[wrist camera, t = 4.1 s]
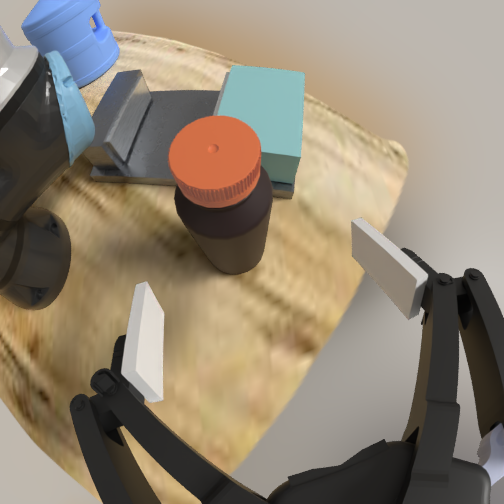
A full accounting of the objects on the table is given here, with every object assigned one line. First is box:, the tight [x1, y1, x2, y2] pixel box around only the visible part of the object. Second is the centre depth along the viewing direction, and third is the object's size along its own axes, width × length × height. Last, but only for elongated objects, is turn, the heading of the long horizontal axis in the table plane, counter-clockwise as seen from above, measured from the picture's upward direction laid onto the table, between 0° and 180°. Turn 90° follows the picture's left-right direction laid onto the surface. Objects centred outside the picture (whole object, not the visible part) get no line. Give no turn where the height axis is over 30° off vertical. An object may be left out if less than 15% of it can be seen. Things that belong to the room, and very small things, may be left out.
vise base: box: [82, 70, 295, 199], centre depth 33 cm, size 28×16×8 cm, turn 82°
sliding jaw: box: [213, 65, 305, 184], centre depth 31 cm, size 10×14×6 cm
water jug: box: [21, 0, 119, 88], centre depth 29 cm, size 16×16×28 cm
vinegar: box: [167, 115, 273, 274], centre depth 23 cm, size 7×7×20 cm
